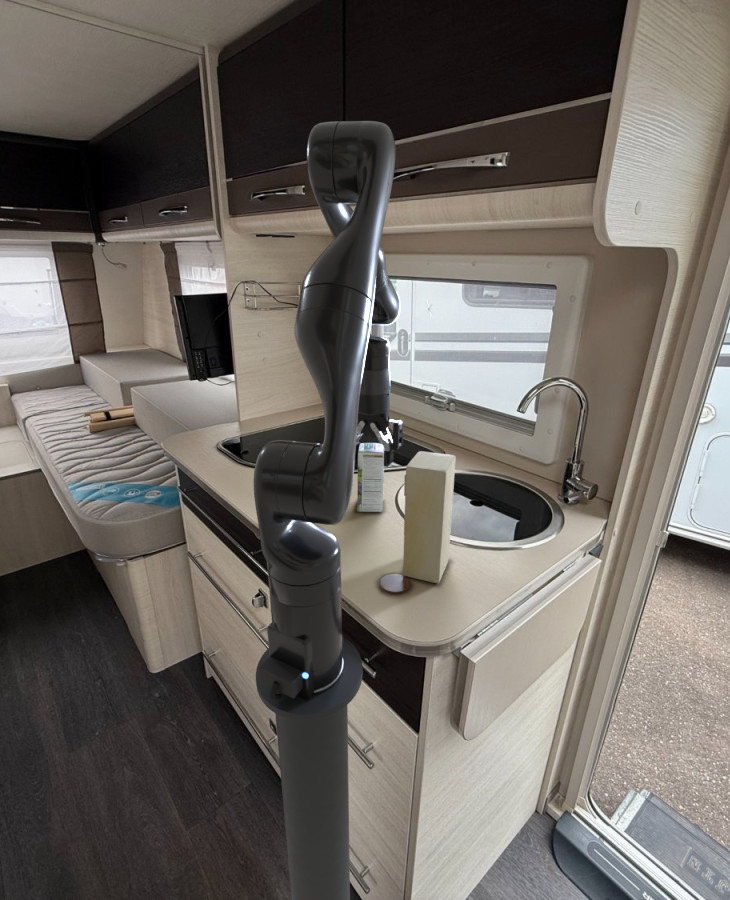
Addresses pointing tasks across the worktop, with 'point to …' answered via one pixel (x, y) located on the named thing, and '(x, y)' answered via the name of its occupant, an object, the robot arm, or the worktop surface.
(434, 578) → the tall cream pillar
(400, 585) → the brown glossy disc
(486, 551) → the worktop surface
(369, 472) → the syrup box
